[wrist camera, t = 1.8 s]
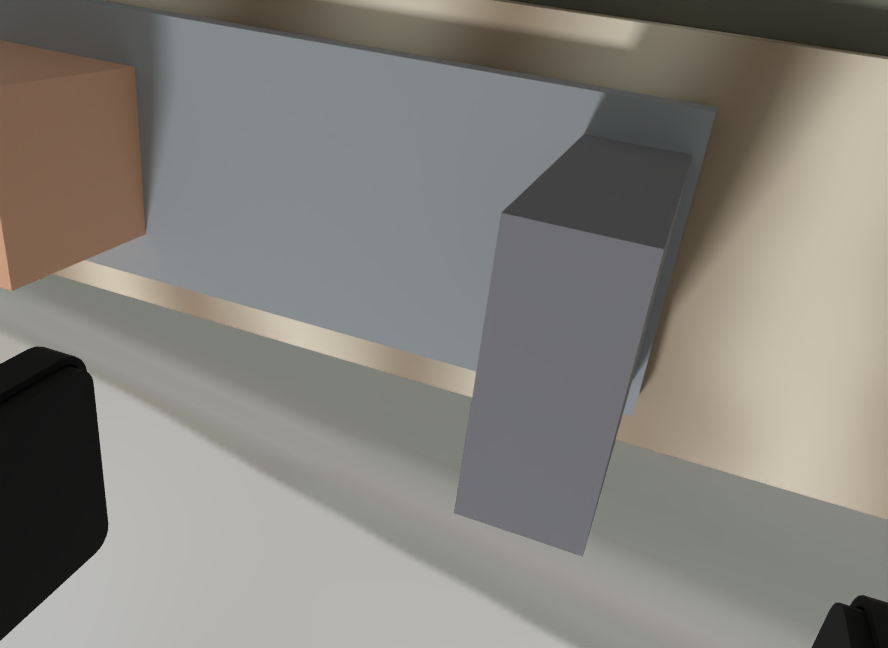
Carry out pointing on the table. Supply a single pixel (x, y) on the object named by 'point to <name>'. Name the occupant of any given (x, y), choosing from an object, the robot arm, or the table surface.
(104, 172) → the cube
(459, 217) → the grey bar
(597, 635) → the table surface
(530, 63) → the board
